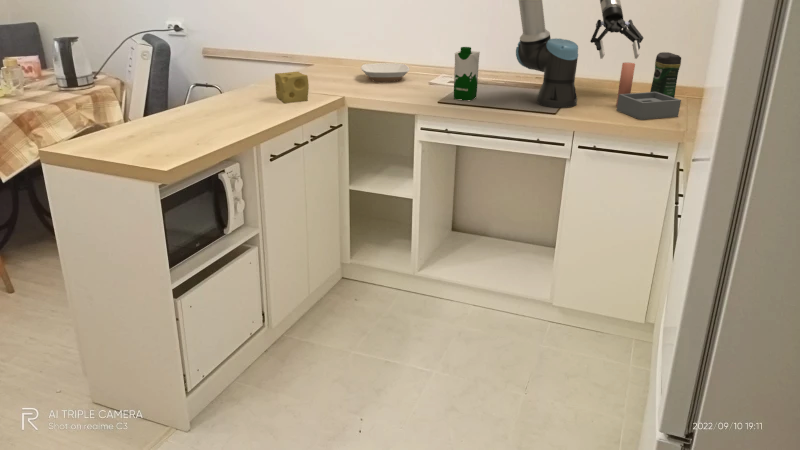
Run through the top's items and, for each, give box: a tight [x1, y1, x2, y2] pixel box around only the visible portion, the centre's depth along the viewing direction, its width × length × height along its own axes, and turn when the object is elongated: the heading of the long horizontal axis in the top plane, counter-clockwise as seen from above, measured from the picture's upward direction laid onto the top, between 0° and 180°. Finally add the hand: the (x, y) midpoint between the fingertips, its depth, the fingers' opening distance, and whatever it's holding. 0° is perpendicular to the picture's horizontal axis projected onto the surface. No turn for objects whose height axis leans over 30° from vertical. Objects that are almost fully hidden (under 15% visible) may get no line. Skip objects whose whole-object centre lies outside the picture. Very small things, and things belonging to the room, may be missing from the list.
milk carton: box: [453, 46, 481, 101], centre depth 248 cm, size 9×9×20 cm
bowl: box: [360, 62, 410, 83], centre depth 285 cm, size 22×22×5 cm
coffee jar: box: [649, 51, 682, 98], centre depth 247 cm, size 10×8×19 cm
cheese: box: [274, 71, 310, 104], centre depth 247 cm, size 10×11×10 cm
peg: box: [615, 62, 636, 107], centre depth 239 cm, size 4×4×16 cm
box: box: [616, 91, 682, 121], centre depth 231 cm, size 16×14×6 cm
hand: (619, 56), depth 245 cm, fingers open, 13 cm apart
